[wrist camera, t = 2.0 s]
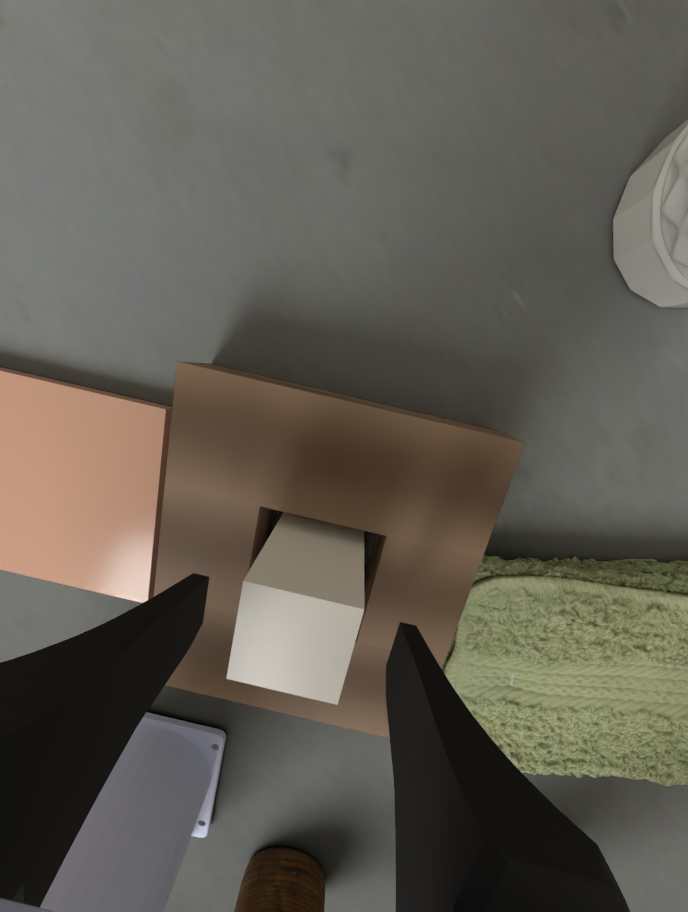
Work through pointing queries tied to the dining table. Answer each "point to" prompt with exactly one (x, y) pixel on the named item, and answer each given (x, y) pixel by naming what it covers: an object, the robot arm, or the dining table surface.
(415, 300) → the dining table surface
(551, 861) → the robot arm
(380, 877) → the dining table surface
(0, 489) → the tile
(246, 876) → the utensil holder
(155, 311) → the dining table surface
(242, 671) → the plug
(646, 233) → the white cup
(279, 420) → the brown board with hole
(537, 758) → the washcloth
